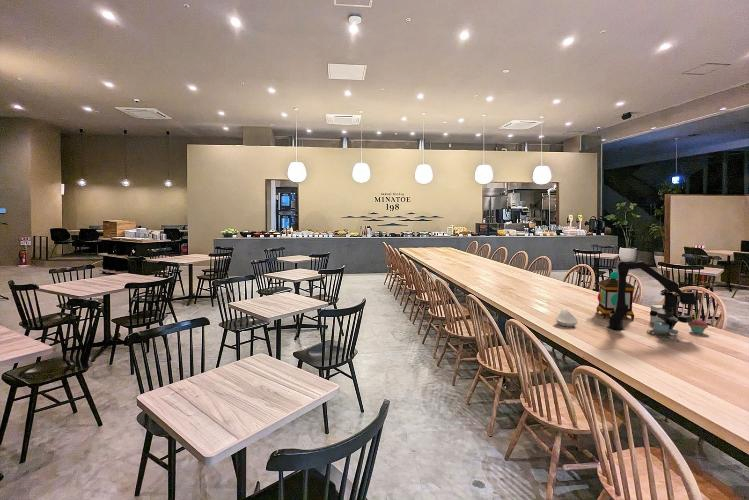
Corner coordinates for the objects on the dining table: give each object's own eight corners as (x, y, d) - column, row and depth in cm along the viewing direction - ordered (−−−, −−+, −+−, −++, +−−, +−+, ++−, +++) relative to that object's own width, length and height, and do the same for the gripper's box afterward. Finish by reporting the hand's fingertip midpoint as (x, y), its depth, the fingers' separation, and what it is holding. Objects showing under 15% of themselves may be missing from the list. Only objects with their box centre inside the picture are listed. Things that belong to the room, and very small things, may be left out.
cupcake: (689, 333, 215) (690, 312, 214) (685, 329, 222) (687, 308, 221) (709, 335, 211) (710, 313, 210) (705, 331, 218) (706, 310, 217)
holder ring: (659, 337, 209) (659, 335, 209) (642, 331, 219) (642, 330, 219) (674, 335, 211) (674, 334, 211) (657, 330, 221) (657, 329, 221)
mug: (655, 334, 212) (658, 325, 211) (650, 328, 218) (653, 320, 217) (678, 338, 210) (682, 329, 208) (673, 332, 216) (676, 324, 214)
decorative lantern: (601, 319, 246) (603, 272, 244) (593, 311, 265) (595, 268, 263) (637, 321, 241) (639, 273, 238) (627, 313, 260) (628, 269, 257)
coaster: (670, 342, 200) (670, 341, 200) (654, 337, 209) (654, 336, 208) (683, 341, 202) (683, 340, 202) (667, 336, 210) (667, 335, 210)
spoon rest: (579, 329, 226) (579, 317, 226) (557, 327, 230) (557, 315, 229) (573, 319, 248) (573, 308, 248) (552, 317, 252) (553, 307, 252)
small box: (663, 322, 238) (664, 305, 237) (669, 324, 232) (670, 307, 231) (649, 321, 238) (650, 305, 238) (655, 324, 233) (656, 307, 232)
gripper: (643, 302, 219) (643, 328, 220) (680, 308, 202) (679, 338, 203) (656, 299, 223) (655, 326, 225) (693, 306, 206) (692, 334, 207)
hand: (669, 331), depth 215 cm, fingers closed, pressing on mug
